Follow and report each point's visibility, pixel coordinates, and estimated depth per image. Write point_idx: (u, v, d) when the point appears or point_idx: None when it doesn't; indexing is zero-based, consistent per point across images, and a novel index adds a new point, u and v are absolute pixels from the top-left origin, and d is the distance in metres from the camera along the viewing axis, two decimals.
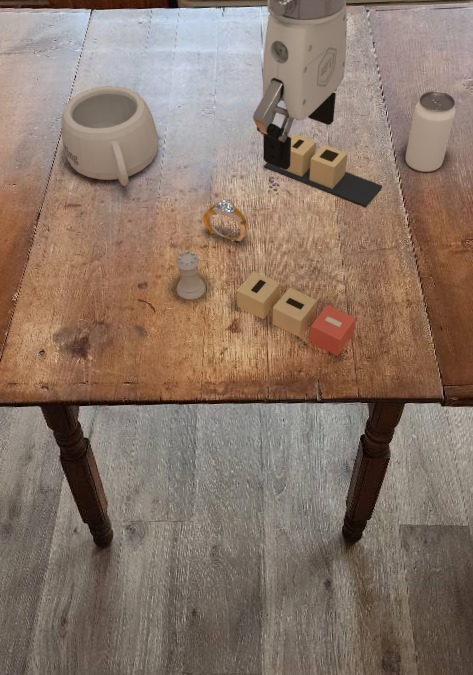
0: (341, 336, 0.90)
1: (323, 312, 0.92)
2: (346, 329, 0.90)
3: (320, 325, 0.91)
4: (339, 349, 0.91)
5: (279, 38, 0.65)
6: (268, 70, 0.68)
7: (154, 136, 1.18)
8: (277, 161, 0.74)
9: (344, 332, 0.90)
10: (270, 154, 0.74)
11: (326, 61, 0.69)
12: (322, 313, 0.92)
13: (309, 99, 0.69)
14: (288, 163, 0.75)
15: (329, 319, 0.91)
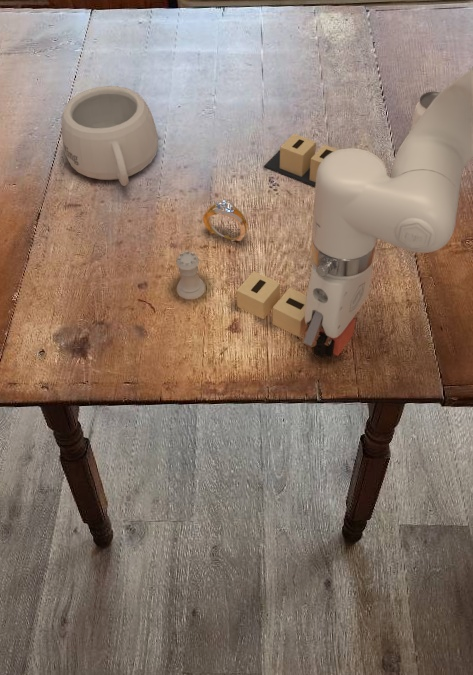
0: (341, 336, 0.90)
1: None
2: (346, 329, 0.90)
3: None
4: (339, 349, 0.91)
5: (321, 287, 0.80)
6: (310, 304, 0.83)
7: (154, 136, 1.18)
8: (322, 356, 0.92)
9: (344, 332, 0.90)
10: (316, 350, 0.92)
11: (357, 293, 0.84)
12: None
13: (342, 323, 0.85)
14: (331, 356, 0.92)
15: None
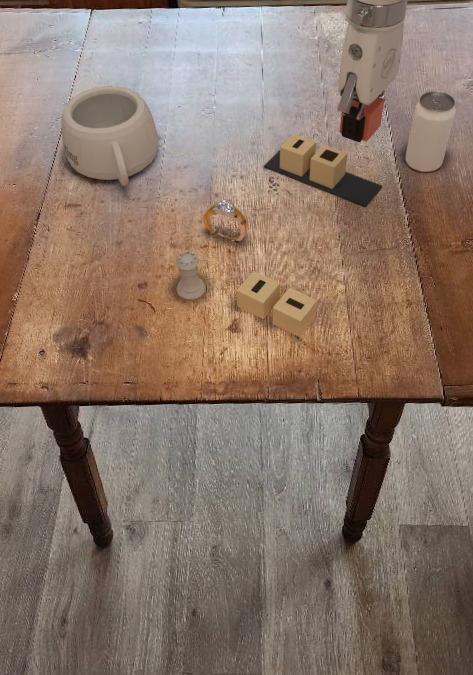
0: (371, 112, 0.95)
1: None
2: (376, 107, 0.96)
3: None
4: (369, 128, 0.97)
5: (356, 41, 0.86)
6: (345, 66, 0.89)
7: (154, 136, 1.18)
8: (353, 135, 0.97)
9: (374, 109, 0.96)
10: (348, 130, 0.97)
11: (388, 59, 0.90)
12: None
13: (375, 88, 0.90)
14: (361, 137, 0.98)
15: None
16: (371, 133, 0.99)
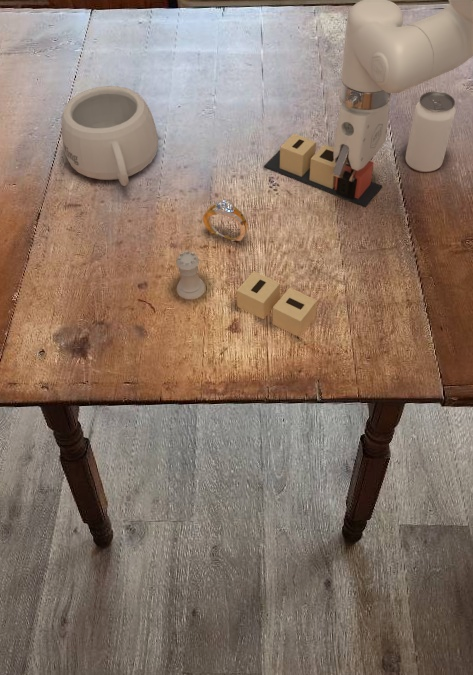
0: (362, 175, 1.10)
1: None
2: (366, 170, 1.10)
3: None
4: (360, 188, 1.11)
5: (348, 120, 1.00)
6: (339, 139, 1.03)
7: (154, 136, 1.18)
8: (346, 194, 1.12)
9: (364, 172, 1.10)
10: (342, 189, 1.12)
11: (376, 132, 1.04)
12: None
13: (364, 157, 1.05)
14: (353, 195, 1.12)
15: None
16: (362, 191, 1.13)
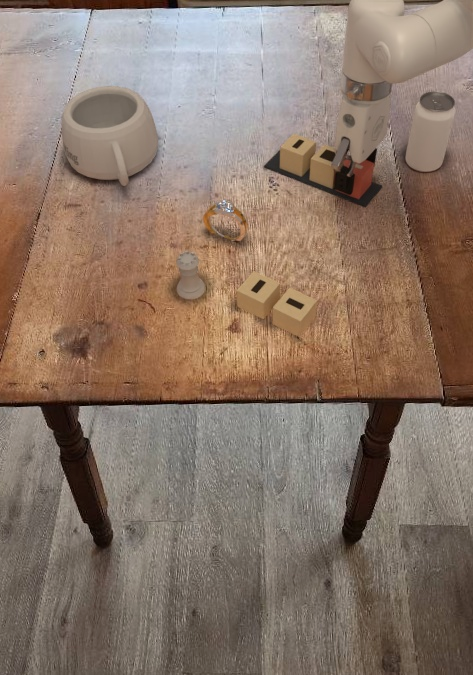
0: (362, 175, 1.10)
1: (347, 159, 1.12)
2: (366, 170, 1.10)
3: None
4: (361, 188, 1.11)
5: (349, 112, 0.99)
6: (340, 131, 1.02)
7: (154, 136, 1.18)
8: (344, 189, 1.10)
9: (365, 172, 1.10)
10: (340, 184, 1.10)
11: (377, 124, 1.03)
12: (346, 160, 1.12)
13: (366, 149, 1.04)
14: (351, 190, 1.10)
15: None
16: (363, 192, 1.13)
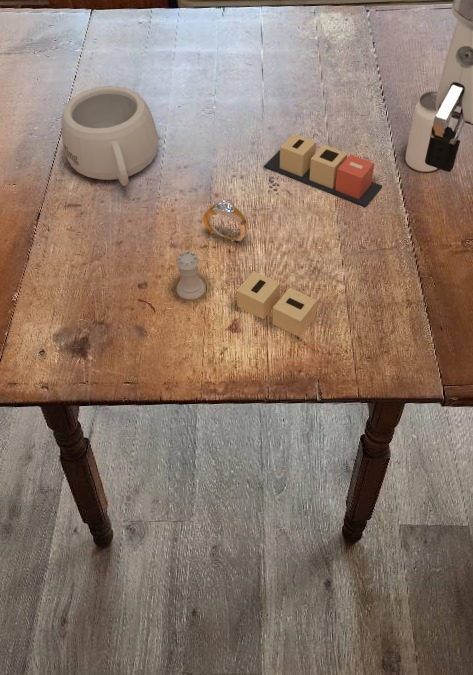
0: (362, 175, 1.10)
1: (347, 159, 1.12)
2: (366, 170, 1.10)
3: (345, 168, 1.11)
4: (361, 188, 1.11)
5: (469, 43, 0.66)
6: (449, 74, 0.69)
7: (154, 136, 1.18)
8: (442, 163, 0.75)
9: (365, 172, 1.10)
10: (436, 157, 0.75)
11: None
12: (346, 160, 1.12)
13: None
14: (452, 165, 0.76)
15: (353, 164, 1.11)
16: (363, 192, 1.13)
